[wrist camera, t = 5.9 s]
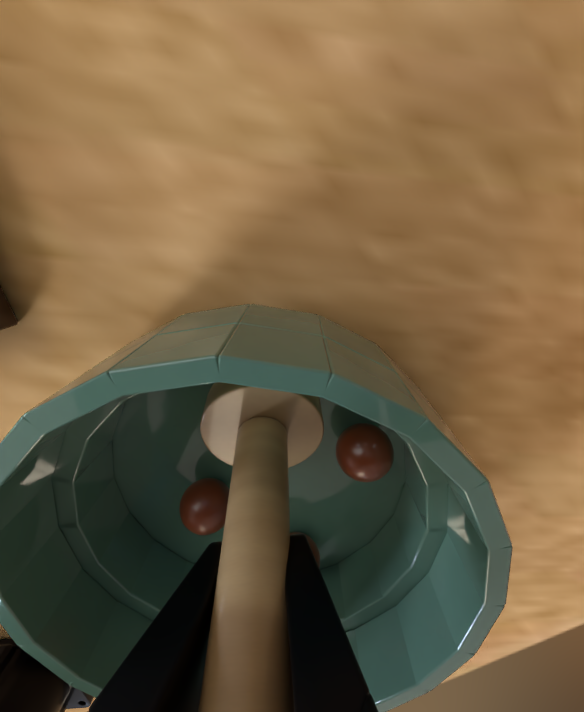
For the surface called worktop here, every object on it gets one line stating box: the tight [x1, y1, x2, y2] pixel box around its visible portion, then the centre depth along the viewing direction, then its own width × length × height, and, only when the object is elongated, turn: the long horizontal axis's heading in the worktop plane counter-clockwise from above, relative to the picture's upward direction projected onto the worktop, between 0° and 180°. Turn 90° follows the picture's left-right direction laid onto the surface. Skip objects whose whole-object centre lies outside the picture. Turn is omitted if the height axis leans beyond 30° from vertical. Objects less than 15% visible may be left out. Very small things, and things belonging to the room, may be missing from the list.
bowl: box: [0, 304, 512, 712], centre depth 11 cm, size 14×14×6 cm
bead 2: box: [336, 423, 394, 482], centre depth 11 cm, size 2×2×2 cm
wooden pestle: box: [198, 382, 324, 712], centre depth 7 cm, size 4×4×11 cm
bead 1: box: [179, 478, 230, 535], centre depth 12 cm, size 2×2×2 cm
